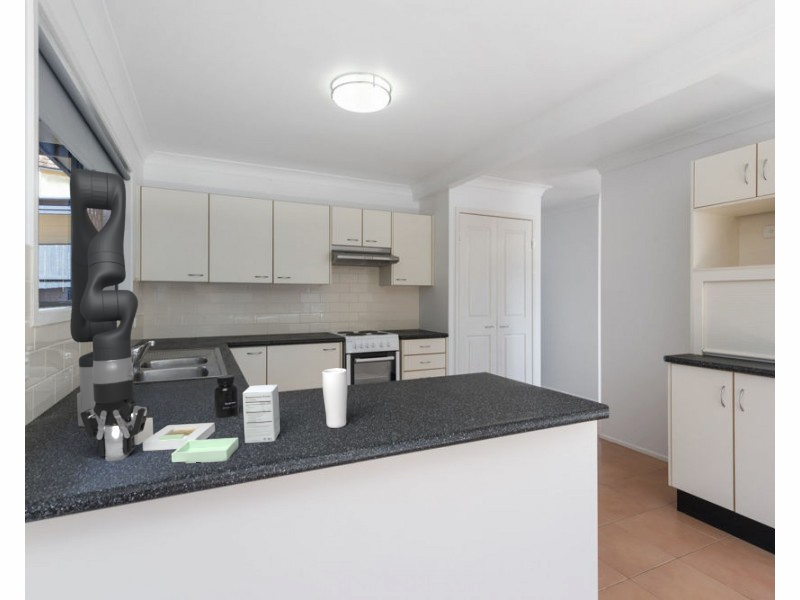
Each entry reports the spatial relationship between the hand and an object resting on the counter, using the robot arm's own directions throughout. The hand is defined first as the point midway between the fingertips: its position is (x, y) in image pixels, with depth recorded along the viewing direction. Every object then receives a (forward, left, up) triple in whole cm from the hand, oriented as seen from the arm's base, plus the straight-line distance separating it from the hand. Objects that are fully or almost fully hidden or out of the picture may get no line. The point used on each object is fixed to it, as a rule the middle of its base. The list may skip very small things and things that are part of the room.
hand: (117, 453), depth 93 cm
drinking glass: (+48, +15, -1) cm, 50 cm away
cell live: (0, 0, -1) cm, 1 cm away
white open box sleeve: (-3, +11, -1) cm, 11 cm away
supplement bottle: (+14, +30, -2) cm, 33 cm away
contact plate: (+10, +9, -1) cm, 14 cm away
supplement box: (+30, +9, -2) cm, 31 cm away
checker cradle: (+10, +9, -1) cm, 14 cm away
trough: (+20, -1, -1) cm, 20 cm away
